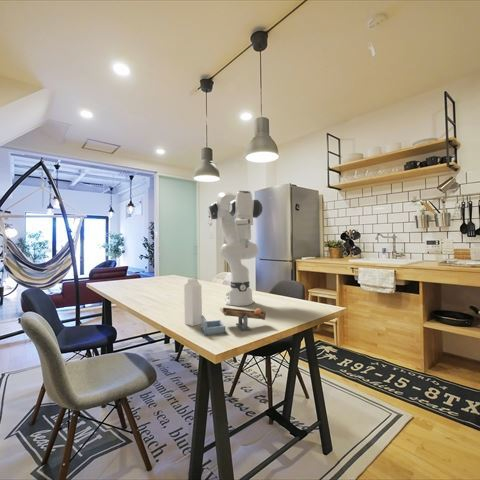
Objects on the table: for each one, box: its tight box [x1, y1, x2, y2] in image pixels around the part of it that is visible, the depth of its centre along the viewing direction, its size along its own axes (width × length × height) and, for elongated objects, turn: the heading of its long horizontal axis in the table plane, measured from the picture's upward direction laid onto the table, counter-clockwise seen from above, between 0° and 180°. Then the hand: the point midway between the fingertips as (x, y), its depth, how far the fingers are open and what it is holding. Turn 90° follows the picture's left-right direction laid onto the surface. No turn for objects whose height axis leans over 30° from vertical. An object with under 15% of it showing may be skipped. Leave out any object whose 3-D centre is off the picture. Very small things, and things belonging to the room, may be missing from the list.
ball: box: [253, 308, 262, 314], centre depth 129 cm, size 4×4×4 cm
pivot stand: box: [235, 315, 252, 332], centre depth 126 cm, size 4×10×7 cm, turn 17°
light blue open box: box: [200, 314, 226, 337], centre depth 122 cm, size 10×9×6 cm
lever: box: [219, 307, 267, 321], centre depth 129 cm, size 19×12×4 cm, turn 107°
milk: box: [183, 277, 203, 327], centre depth 134 cm, size 6×6×22 cm
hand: (244, 248), depth 141 cm, fingers open, 8 cm apart
